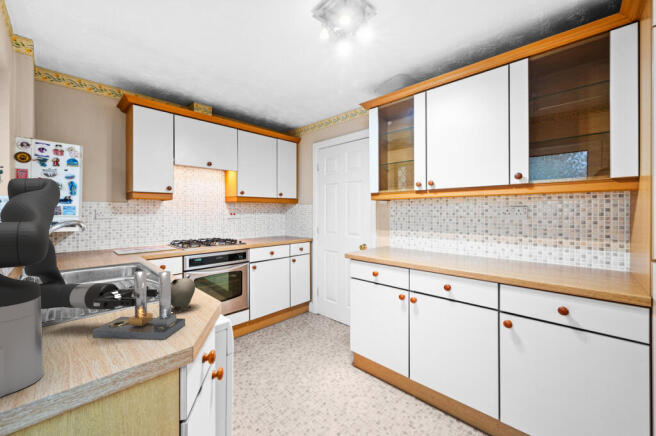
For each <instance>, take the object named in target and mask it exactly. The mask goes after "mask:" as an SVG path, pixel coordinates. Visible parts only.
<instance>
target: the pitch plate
mask: <svg viewBox="0 0 656 436" xmlns="http://www.w3.org/2000/svg"><path fill="white" fill-rule="evenodd" d="M171 278H172V277H171V271H168V270H166V271H159V272H158V291H159V294H158V299H159V302H158V304H159V305H158V314H159V315H158V316H157V317H153V320H151V321H150V322H148V323H146V324H144V325H143V326H134V325H129V318H131V317H132V316H120V317H118V318H115V319H113V320H111V321H109V322H108V323H105V324H103V325H101V326H99V327H96V328H94V329H92V338H101V339H102V338H104V339H126V340H127V339H129V340H131V339H132V340H133V339H134V340H157V341H159V340H160V341H165V340H166V339H167V338H169V337H170V336H172V335H173V334H175V333H176V332H178V331H179V330H181V329H182V328H183V327H185V326H186V318H178V317H177V314H175V313H171V309H172V305H171V282H172V280H171Z"/></svg>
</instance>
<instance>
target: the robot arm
mask: <svg viewBox="0 0 656 436" xmlns="http://www.w3.org/2000/svg"><path fill="white" fill-rule="evenodd" d="M7 196H8V197H7V198H8V201H6V203H5V204H4V205H3V206H2V209H1V210H0V221H1V222H0V269H10V268H18V267H19V268H21V267H23V269H24V271H23V272H24V274H25V275H26V276H27V277H34V278H35V277H36V278H38V279H39V281H40V282H41V283H38V282H36V281H31V280H25V279H18V278H12V277H10V276H7V275H4V274H2V273H1V272H0V398H1V397H4V396H6V395H9V394H12V393H15V392H18V391H20V390H23V389H25V388H27V387H29V386H31V385H33V384H35V383H36V382H38V381H39V380H41V378H42V377H43V376H44V362H43V361H44V360H43V359H44V358H43V357H44V355H43V354H44V353H43V329H42V327H43V325H42V321H43V320H42V310H47V309H56V308H67V309H70V308H71V309H81V310H101V311H102V310H103V311H104V310H105V311H106V310H111V311H112V310H114V309H116V308H122V307H135V306H136V305H137V300H136V298H134V285H133V286H132V285H131V286H129V287H128V288H126V287H122V288H119V287H118V285H116V284H114V283H106V282H102V283H101V282H99V283H98V282H89V283H88V282H87V283H86V282H85V283H66V281H65V279H64V277H63V276H62V273H61V271H60V270H59V268H58V264H57V254H56V249H55V245H54V243H53V241H52V240H51V239H50V229H51V226H52V223H53V220H54V218H55V217H54V216H55V211H56V208H57V206H58V205H59V203H60V200H61V190H60V186H59V184H58V183H57V182H56V181H55V180H54V179H51V178H48V177H21V178H19V177H17V178H11V179H10V180H8V183H7ZM146 286H147V298H148V297H152V298H156V297H157V296H158V294H157V292H158V290H157V288H153V289H152V288H149V286H148V285H146Z"/></svg>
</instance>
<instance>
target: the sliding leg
mask: <svg viewBox="0 0 656 436" xmlns="http://www.w3.org/2000/svg"><path fill="white" fill-rule="evenodd" d="M133 286H134V295H133V297H134V298H136V300H137V305H136V306H134V315H132V316H130V317H131V318H129V325H134V326H143V325H144V324H146V323H148V322H150V321H151V320H153V318H154V317H153V316H154V313H153V312H152V313H151V312H148V305H147V304H148V300H147V298H148V297H147V286H148V285H147V270H138V271H134V272H133Z"/></svg>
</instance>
